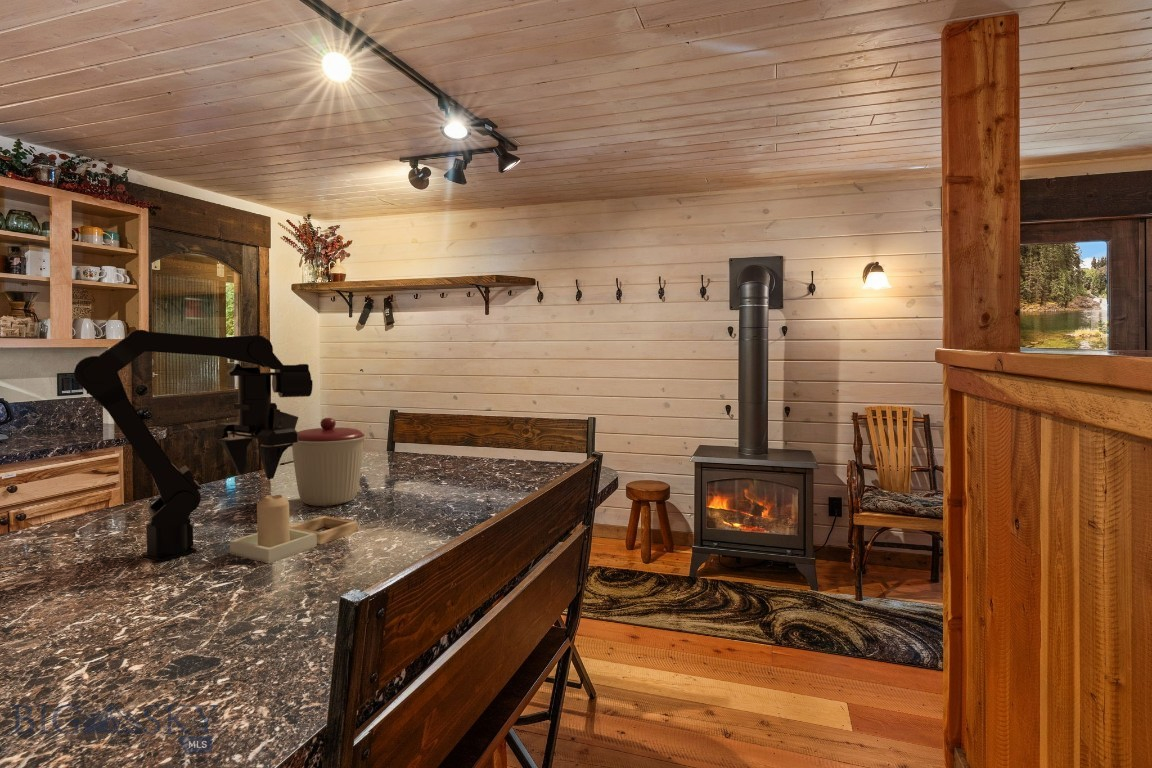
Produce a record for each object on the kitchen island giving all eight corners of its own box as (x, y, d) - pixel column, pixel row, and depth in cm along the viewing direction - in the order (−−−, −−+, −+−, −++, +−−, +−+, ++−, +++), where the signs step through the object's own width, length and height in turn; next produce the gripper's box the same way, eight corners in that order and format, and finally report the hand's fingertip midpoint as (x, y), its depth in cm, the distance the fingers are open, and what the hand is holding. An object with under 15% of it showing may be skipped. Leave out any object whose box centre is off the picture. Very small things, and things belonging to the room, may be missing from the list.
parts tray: (268, 563, 111) (268, 549, 111) (230, 554, 116) (229, 540, 116) (316, 546, 121) (316, 533, 121) (279, 538, 125) (278, 526, 125)
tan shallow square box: (320, 544, 122) (320, 534, 122) (285, 537, 126) (285, 527, 126) (358, 531, 131) (358, 521, 131) (324, 524, 135) (324, 515, 135)
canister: (272, 507, 149) (270, 420, 148) (323, 490, 166) (322, 412, 165) (335, 513, 144) (334, 423, 143) (381, 496, 161) (380, 415, 160)
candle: (266, 554, 114) (265, 501, 114) (252, 548, 118) (251, 496, 117) (295, 546, 119) (294, 495, 118) (280, 541, 122) (279, 491, 121)
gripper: (320, 398, 125) (321, 474, 126) (262, 393, 134) (263, 464, 135) (270, 402, 116) (271, 484, 116) (211, 396, 125) (212, 473, 125)
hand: (255, 476), depth 124 cm, fingers open, 9 cm apart
